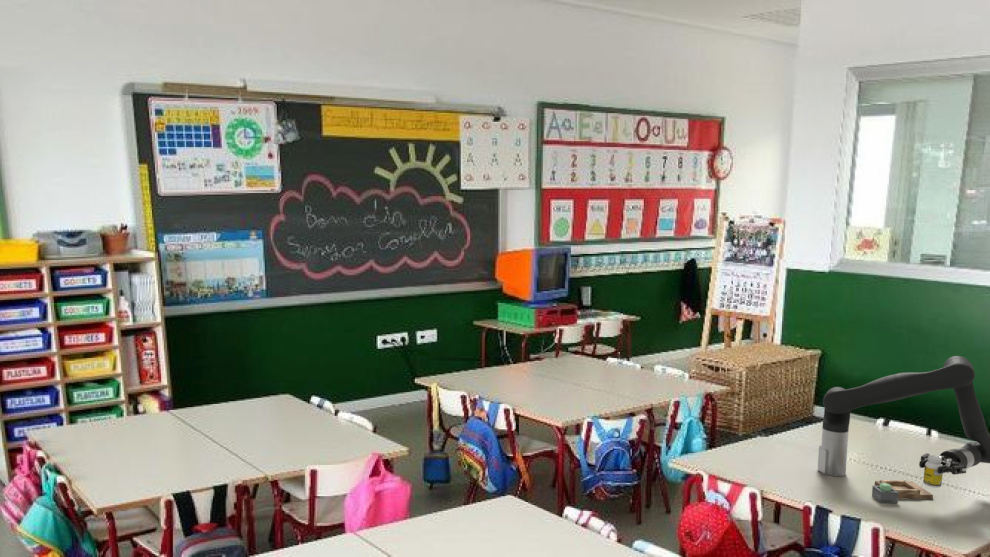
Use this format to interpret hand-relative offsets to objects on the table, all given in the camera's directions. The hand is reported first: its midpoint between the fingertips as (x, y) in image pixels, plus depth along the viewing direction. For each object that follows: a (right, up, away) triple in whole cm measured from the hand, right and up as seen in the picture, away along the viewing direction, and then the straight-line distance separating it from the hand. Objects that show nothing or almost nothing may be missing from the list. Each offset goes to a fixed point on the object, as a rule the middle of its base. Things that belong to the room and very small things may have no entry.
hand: (929, 467), depth 250 cm
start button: (-9, -12, +11) cm, 19 cm away
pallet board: (+2, -14, +20) cm, 24 cm away
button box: (-9, -14, +11) cm, 21 cm away
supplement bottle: (+2, -7, +2) cm, 7 cm away
